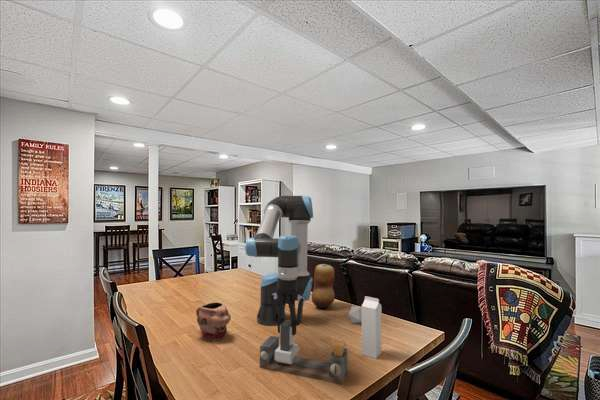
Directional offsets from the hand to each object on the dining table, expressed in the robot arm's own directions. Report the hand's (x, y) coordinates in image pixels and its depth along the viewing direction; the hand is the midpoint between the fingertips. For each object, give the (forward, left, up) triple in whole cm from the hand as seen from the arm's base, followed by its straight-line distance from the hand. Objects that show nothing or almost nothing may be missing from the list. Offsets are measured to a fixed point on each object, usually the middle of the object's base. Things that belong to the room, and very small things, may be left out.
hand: (286, 342), depth 104 cm
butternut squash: (-4, +67, -8) cm, 68 cm away
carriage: (0, 0, -6) cm, 6 cm away
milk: (+28, +20, -8) cm, 36 cm away
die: (+18, +51, -8) cm, 55 cm away
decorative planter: (-41, +11, -8) cm, 43 cm away
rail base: (+6, 0, -8) cm, 10 cm away
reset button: (+19, 0, -1) cm, 19 cm away
